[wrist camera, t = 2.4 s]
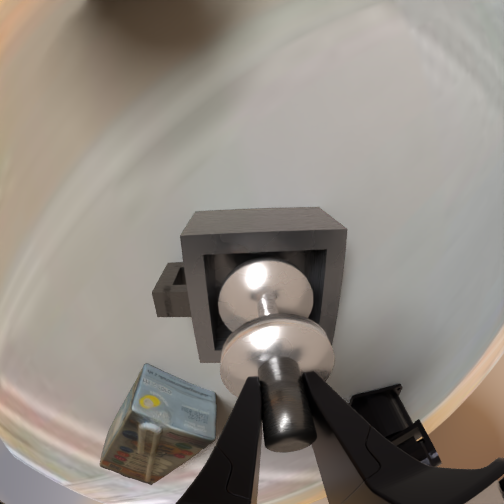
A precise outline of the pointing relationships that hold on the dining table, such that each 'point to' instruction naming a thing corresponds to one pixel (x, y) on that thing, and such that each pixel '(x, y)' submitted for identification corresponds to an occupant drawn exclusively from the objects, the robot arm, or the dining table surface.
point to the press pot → (241, 250)
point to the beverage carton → (159, 426)
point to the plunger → (274, 346)
